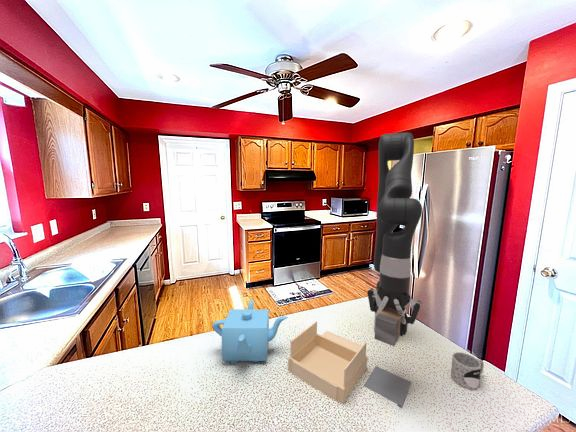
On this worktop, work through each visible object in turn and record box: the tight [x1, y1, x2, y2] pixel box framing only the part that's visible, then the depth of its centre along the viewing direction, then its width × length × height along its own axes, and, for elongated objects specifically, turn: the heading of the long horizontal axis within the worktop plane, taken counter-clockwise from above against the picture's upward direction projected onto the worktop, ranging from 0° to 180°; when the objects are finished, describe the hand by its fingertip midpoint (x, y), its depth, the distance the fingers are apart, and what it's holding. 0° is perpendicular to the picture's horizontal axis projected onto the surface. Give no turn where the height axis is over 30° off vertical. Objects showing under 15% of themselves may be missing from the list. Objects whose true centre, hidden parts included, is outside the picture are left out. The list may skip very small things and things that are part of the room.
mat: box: [363, 365, 412, 409], centre depth 68 cm, size 10×10×1 cm
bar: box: [374, 305, 408, 347], centre depth 66 cm, size 12×5×6 cm, turn 141°
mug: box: [450, 351, 485, 391], centre depth 71 cm, size 10×7×7 cm
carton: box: [287, 321, 368, 405], centre depth 74 cm, size 20×18×10 cm
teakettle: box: [212, 299, 288, 365], centre depth 80 cm, size 19×19×15 cm
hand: (390, 330), depth 67 cm, fingers closed on bar, 5 cm apart
